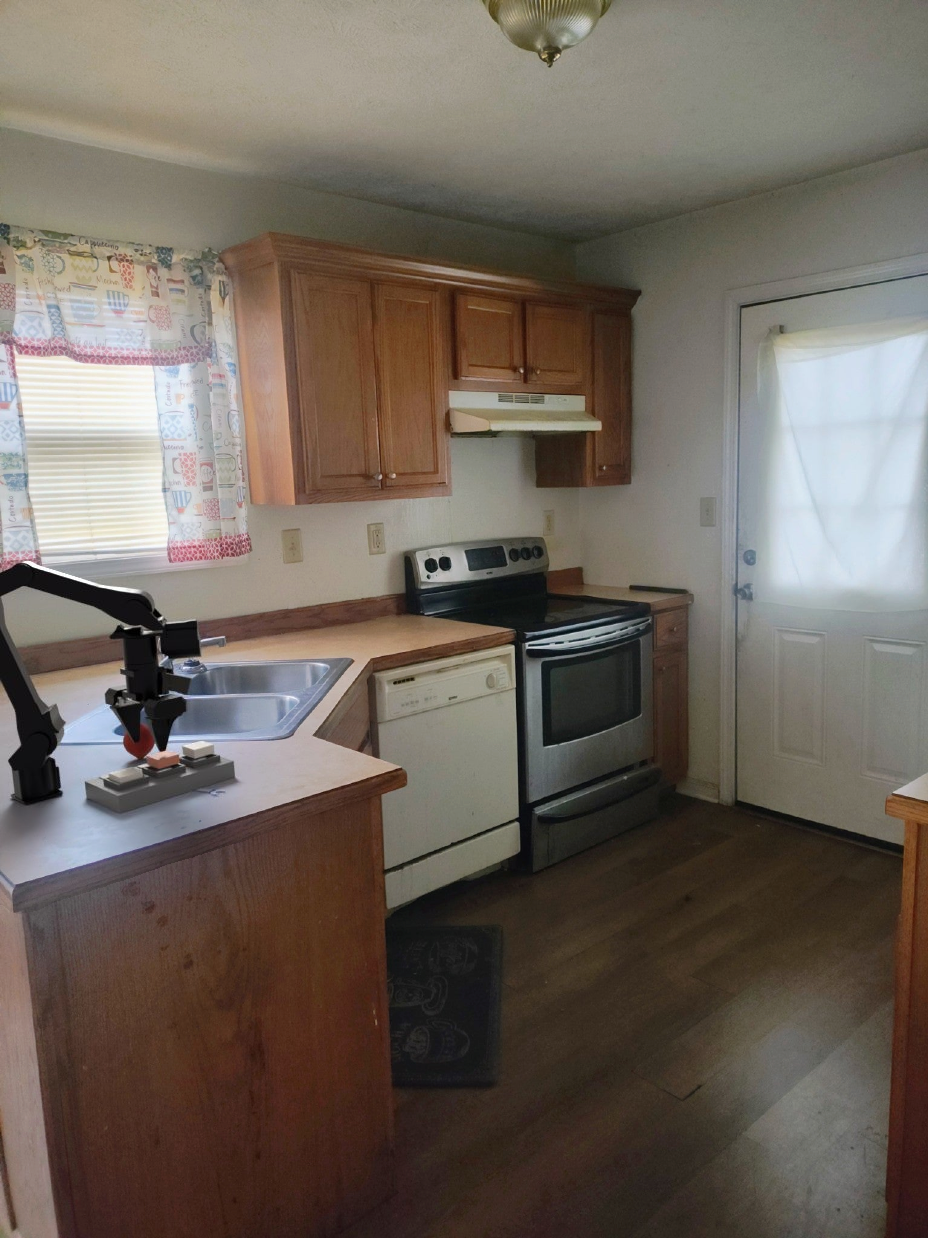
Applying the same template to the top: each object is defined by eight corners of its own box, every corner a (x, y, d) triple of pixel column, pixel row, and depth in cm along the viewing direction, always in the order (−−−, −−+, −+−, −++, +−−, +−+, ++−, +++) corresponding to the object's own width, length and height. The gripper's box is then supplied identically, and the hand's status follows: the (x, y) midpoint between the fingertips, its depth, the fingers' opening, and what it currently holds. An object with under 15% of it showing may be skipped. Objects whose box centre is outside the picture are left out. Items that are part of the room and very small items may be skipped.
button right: (194, 758, 154) (194, 750, 154) (182, 754, 157) (182, 746, 156) (214, 753, 157) (213, 744, 157) (202, 749, 160) (201, 740, 159)
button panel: (120, 813, 141) (117, 790, 140) (86, 797, 149) (84, 775, 148) (235, 776, 157) (233, 755, 157) (199, 764, 165) (197, 744, 164)
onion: (146, 752, 174) (142, 714, 173) (162, 757, 170) (158, 718, 169) (119, 760, 170) (115, 721, 168) (135, 765, 166) (131, 725, 165)
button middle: (158, 769, 149) (157, 760, 149) (147, 764, 152) (146, 755, 151) (179, 763, 152) (178, 754, 152) (167, 758, 154) (167, 750, 154)
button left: (120, 787, 144) (119, 777, 144) (109, 782, 147) (108, 773, 146) (143, 780, 147) (142, 771, 147) (131, 775, 150) (130, 767, 149)
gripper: (210, 659, 152) (217, 744, 154) (156, 648, 164) (163, 728, 166) (152, 671, 143) (160, 761, 146) (99, 658, 156) (108, 742, 158)
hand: (149, 746), depth 154 cm, fingers open, 9 cm apart
